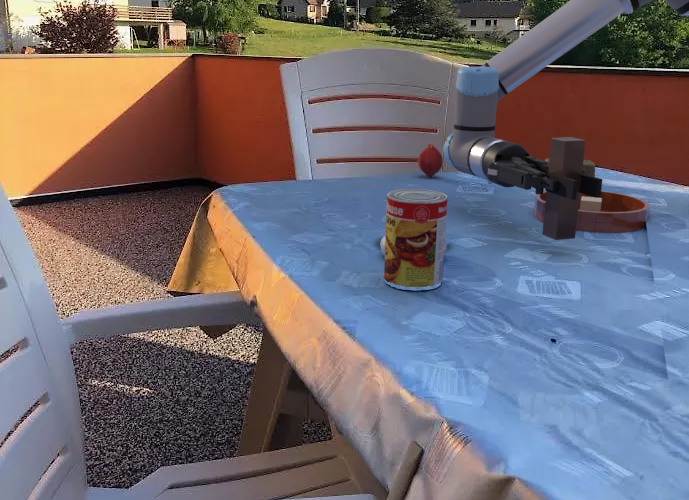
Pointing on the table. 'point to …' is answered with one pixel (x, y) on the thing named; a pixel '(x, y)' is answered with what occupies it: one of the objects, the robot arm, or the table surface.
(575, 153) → the stick
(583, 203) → the block
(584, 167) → the stone block
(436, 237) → the canned food
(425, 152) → the onion
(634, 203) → the bowl
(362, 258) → the table surface
